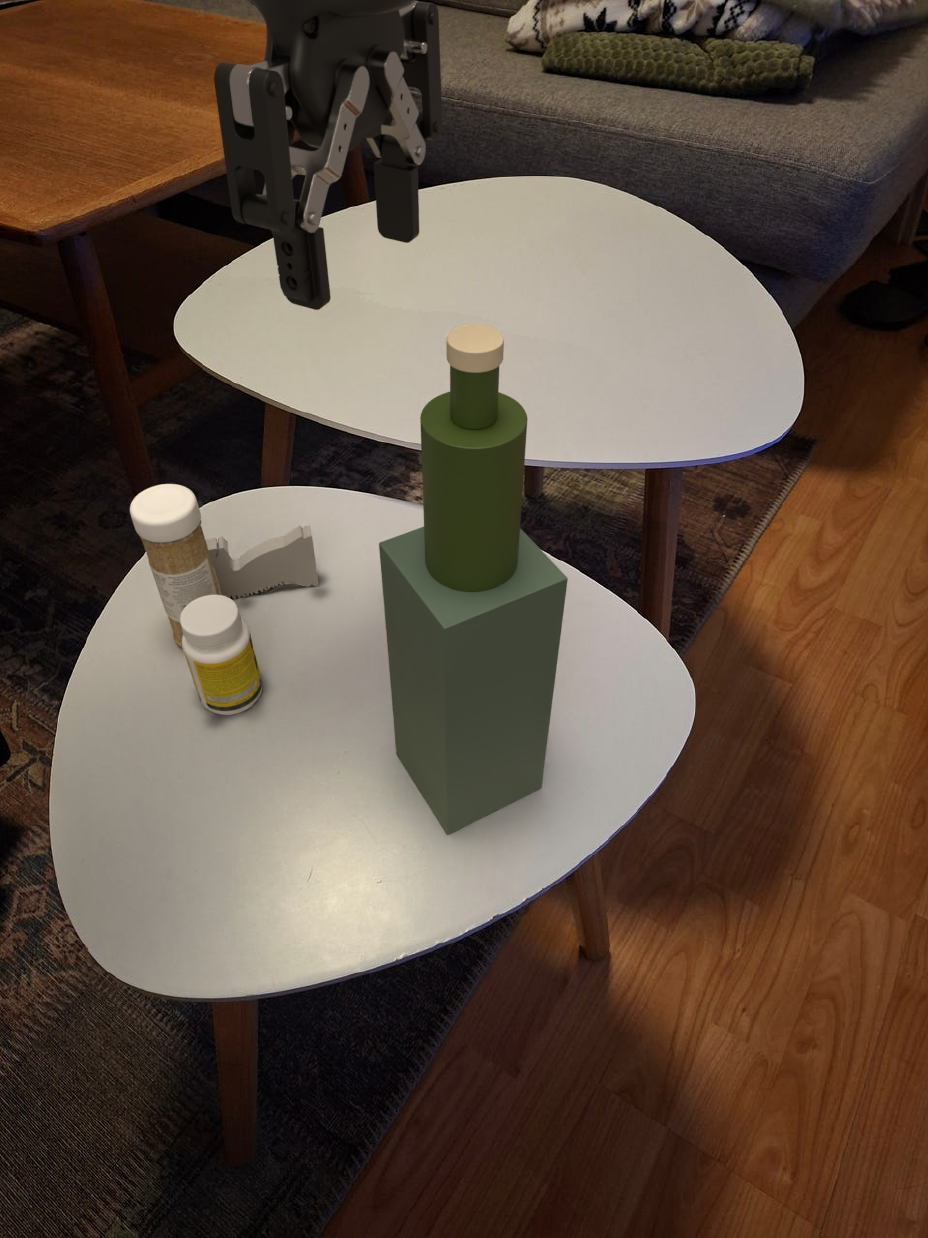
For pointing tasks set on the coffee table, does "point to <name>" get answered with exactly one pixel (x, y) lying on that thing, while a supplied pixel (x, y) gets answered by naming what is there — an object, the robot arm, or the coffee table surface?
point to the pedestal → (471, 678)
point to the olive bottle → (473, 467)
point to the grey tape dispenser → (265, 564)
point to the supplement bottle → (220, 655)
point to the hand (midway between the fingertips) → (356, 269)
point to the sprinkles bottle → (174, 548)
